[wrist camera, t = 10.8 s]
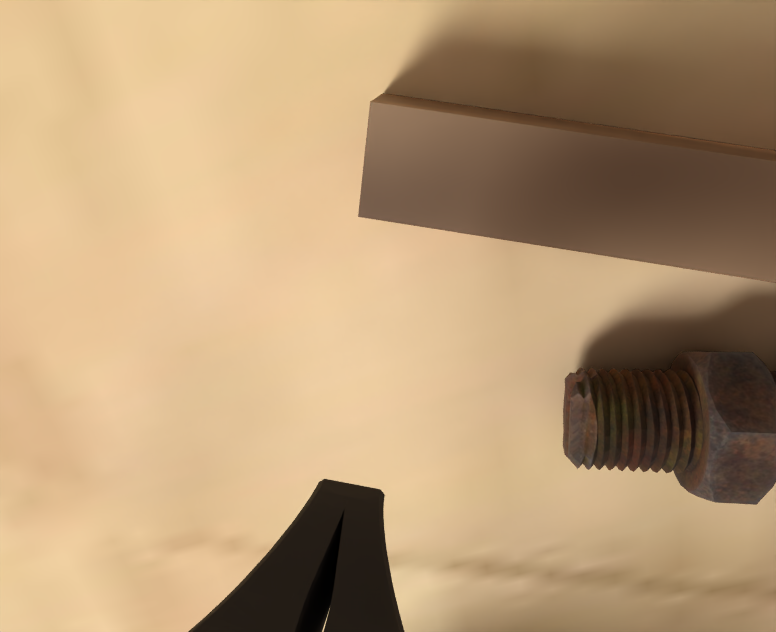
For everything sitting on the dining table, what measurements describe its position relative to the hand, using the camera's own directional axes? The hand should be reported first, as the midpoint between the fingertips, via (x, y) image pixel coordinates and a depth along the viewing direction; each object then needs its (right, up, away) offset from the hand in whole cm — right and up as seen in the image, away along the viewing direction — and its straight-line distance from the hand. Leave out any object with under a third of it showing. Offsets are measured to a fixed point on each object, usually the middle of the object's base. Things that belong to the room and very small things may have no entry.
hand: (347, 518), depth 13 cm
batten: (+13, +7, +4) cm, 16 cm away
